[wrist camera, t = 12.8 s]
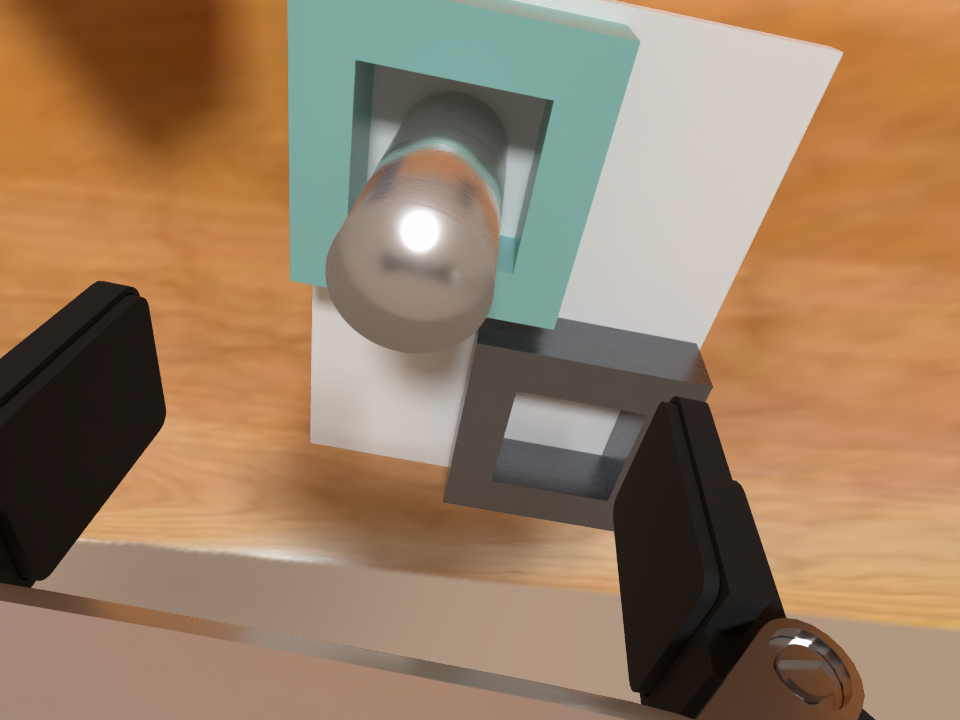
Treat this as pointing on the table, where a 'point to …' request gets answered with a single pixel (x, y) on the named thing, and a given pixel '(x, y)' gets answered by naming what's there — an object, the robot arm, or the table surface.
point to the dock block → (472, 59)
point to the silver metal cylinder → (425, 230)
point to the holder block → (568, 376)
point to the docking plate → (596, 222)
